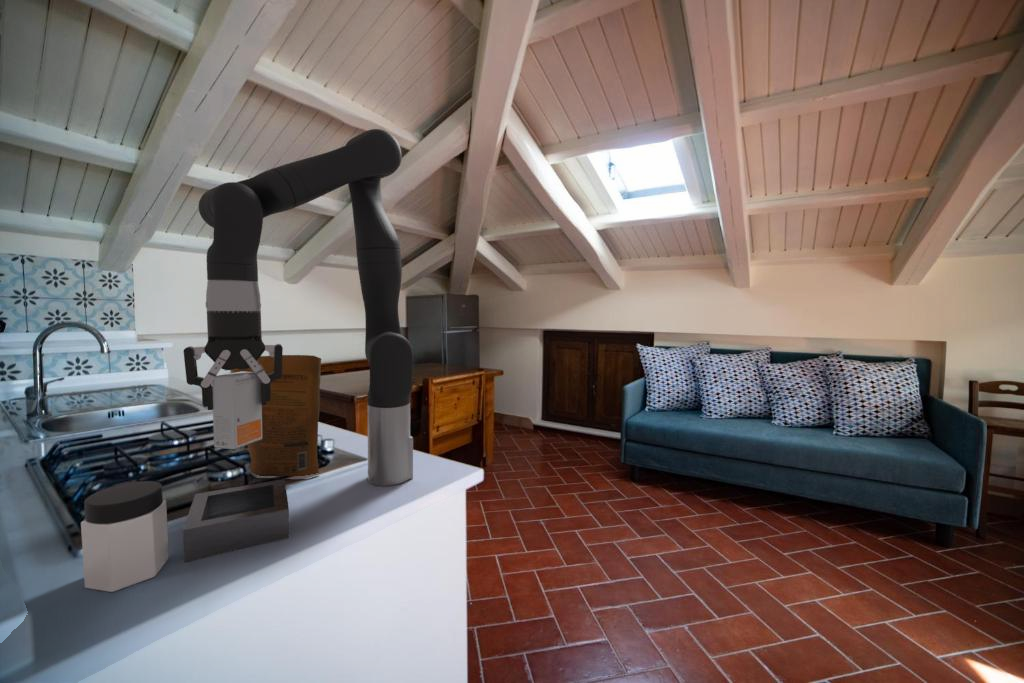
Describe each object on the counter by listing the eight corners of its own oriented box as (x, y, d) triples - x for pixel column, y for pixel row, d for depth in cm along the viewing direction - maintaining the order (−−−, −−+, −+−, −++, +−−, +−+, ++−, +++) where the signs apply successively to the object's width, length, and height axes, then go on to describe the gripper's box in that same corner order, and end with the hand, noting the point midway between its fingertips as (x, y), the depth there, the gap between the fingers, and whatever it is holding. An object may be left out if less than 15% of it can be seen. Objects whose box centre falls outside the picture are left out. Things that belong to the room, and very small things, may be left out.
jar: (162, 548, 66) (159, 475, 65) (175, 570, 61) (171, 490, 60) (81, 575, 59) (76, 493, 59) (88, 602, 54) (82, 513, 53)
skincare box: (235, 450, 68) (232, 377, 67) (213, 448, 69) (210, 376, 68) (264, 439, 74) (261, 371, 73) (243, 437, 75) (241, 370, 74)
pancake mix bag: (315, 484, 91) (313, 356, 89) (230, 481, 92) (226, 354, 90) (330, 472, 98) (328, 353, 96) (251, 469, 99) (247, 351, 97)
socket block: (285, 503, 82) (284, 478, 82) (289, 537, 70) (288, 508, 70) (196, 520, 75) (195, 493, 75) (184, 562, 63) (182, 530, 63)
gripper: (282, 309, 77) (285, 398, 78) (183, 308, 69) (188, 406, 71) (284, 309, 70) (287, 406, 71) (175, 308, 63) (180, 416, 64)
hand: (238, 406), depth 71 cm, fingers closed on skincare box, 7 cm apart
